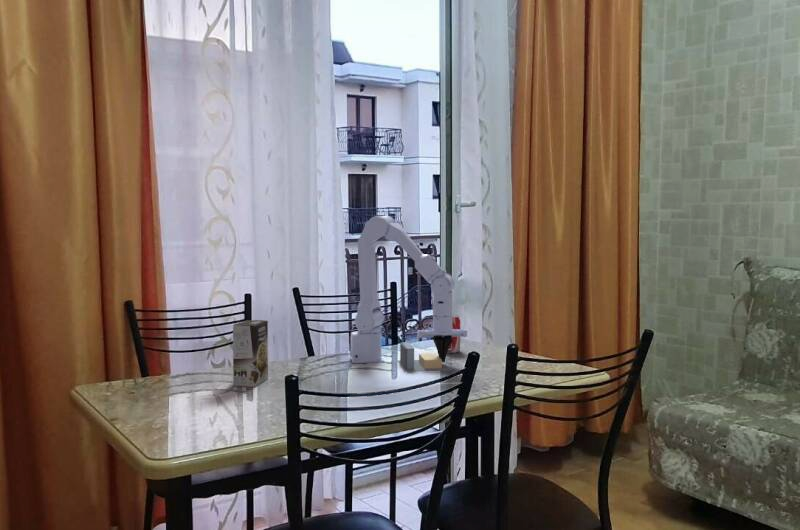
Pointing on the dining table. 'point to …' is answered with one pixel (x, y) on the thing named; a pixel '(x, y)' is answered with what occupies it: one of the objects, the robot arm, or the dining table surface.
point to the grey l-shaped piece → (411, 364)
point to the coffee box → (250, 353)
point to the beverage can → (456, 340)
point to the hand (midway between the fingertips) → (442, 361)
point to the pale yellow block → (430, 360)
